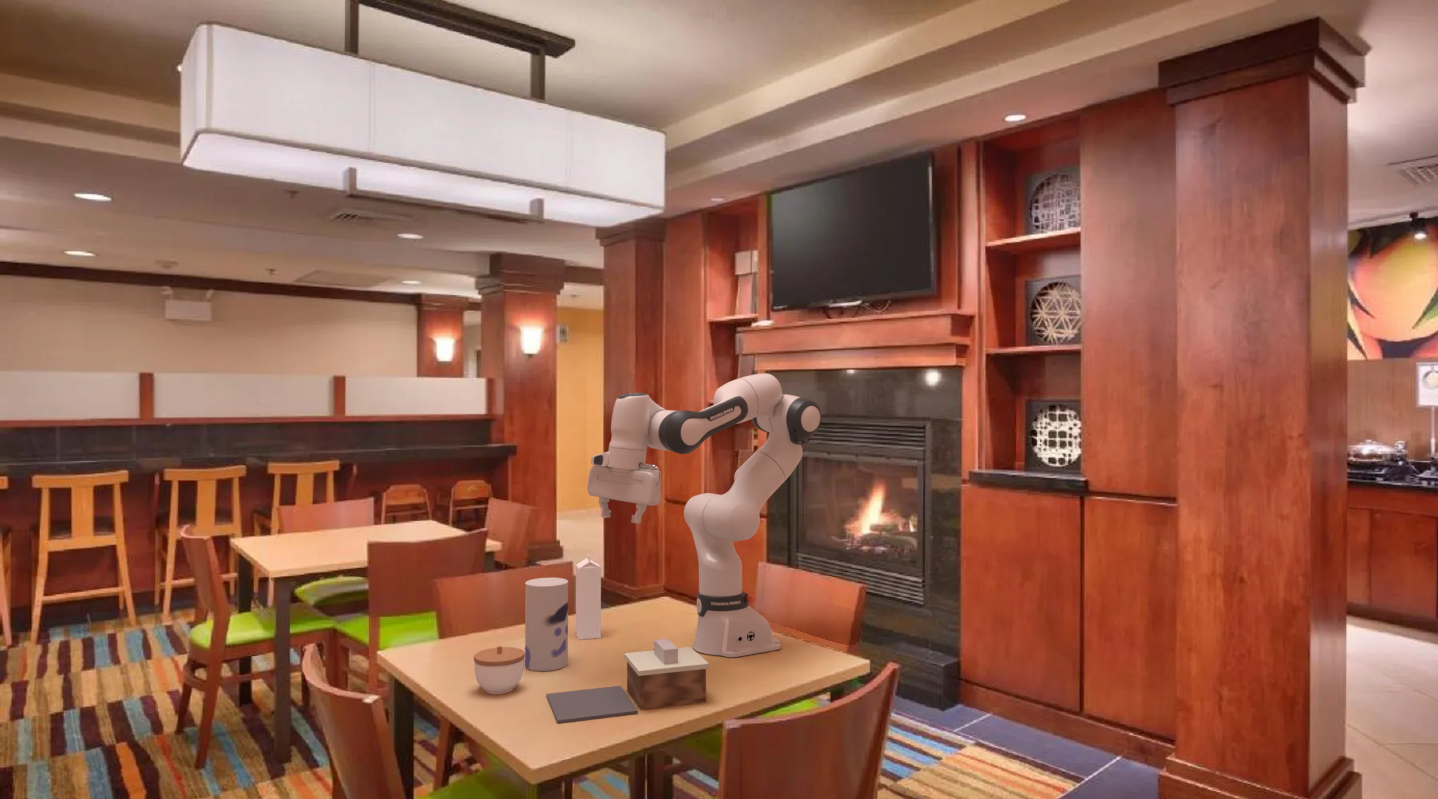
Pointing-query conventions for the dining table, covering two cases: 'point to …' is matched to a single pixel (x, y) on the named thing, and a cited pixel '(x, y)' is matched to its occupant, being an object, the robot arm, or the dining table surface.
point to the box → (666, 688)
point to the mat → (590, 704)
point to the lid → (665, 659)
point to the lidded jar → (499, 669)
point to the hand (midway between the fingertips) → (620, 520)
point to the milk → (588, 599)
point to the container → (546, 624)
